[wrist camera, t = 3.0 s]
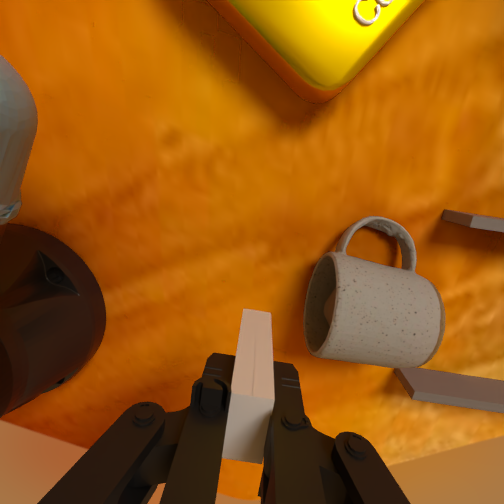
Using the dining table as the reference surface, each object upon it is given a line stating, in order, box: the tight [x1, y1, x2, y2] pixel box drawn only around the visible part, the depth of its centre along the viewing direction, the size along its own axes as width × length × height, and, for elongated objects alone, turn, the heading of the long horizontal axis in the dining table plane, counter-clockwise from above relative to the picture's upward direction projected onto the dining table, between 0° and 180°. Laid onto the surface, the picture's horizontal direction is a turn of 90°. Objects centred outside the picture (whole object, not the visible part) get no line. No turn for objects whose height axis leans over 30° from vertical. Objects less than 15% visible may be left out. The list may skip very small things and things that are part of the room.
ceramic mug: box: [303, 216, 445, 368], centre depth 23 cm, size 11×8×8 cm
